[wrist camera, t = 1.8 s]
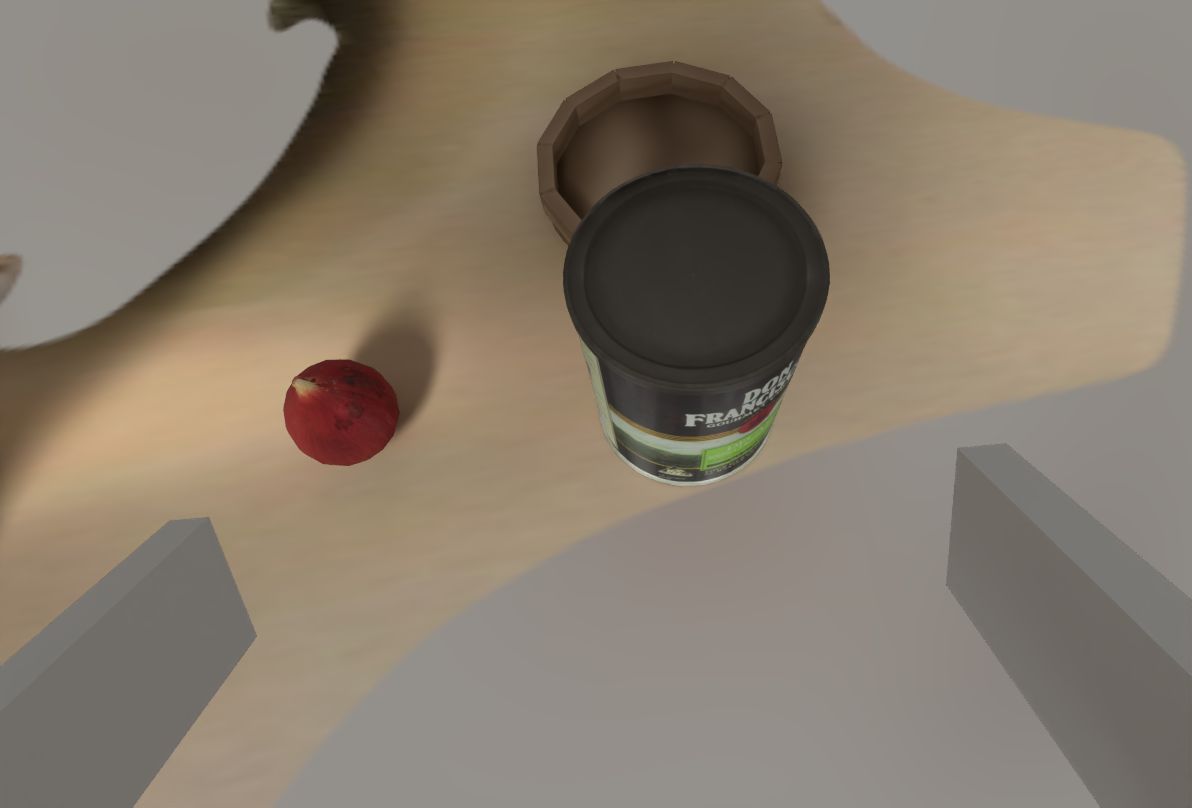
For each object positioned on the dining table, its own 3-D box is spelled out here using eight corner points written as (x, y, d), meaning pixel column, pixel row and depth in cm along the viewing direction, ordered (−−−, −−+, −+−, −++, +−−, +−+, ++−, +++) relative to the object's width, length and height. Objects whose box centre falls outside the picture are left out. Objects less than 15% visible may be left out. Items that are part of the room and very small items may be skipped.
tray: (550, 291, 43) (543, 269, 40) (540, 109, 48) (533, 80, 46) (791, 262, 42) (799, 237, 39) (752, 80, 47) (757, 49, 45)
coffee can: (814, 416, 38) (889, 285, 25) (668, 523, 37) (667, 443, 24) (701, 292, 42) (714, 121, 29) (564, 385, 40) (513, 250, 27)
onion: (406, 377, 42) (349, 314, 34) (427, 461, 39) (370, 413, 32) (316, 408, 41) (240, 351, 34) (332, 494, 39) (254, 454, 32)
